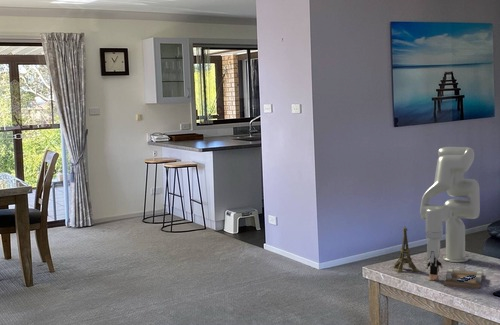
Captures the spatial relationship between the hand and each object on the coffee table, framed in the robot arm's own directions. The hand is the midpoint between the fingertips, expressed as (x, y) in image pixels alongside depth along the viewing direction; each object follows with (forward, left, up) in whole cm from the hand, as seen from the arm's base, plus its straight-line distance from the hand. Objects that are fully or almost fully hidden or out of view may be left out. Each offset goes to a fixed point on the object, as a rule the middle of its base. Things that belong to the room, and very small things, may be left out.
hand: (434, 272), depth 298 cm
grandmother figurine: (0, 0, -3) cm, 3 cm away
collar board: (-3, +13, -3) cm, 14 cm away
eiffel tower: (-14, -16, -4) cm, 22 cm away
